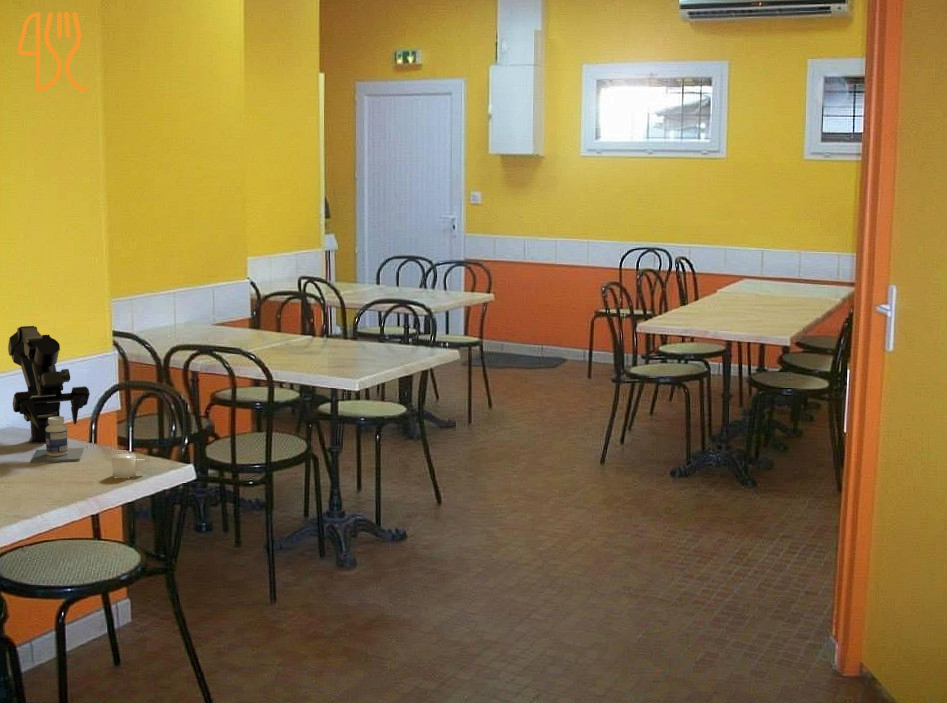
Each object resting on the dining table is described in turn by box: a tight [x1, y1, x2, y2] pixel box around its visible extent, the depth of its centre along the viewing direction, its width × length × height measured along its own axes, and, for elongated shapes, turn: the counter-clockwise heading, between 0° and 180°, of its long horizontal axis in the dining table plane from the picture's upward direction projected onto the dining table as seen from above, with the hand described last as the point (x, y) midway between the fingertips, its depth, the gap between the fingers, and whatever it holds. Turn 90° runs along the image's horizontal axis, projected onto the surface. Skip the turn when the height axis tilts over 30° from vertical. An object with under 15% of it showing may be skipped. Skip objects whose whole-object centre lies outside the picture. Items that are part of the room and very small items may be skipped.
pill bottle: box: [45, 415, 69, 456], centre depth 308 cm, size 5×5×10 cm
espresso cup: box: [111, 453, 146, 479], centre depth 291 cm, size 6×8×5 cm
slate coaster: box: [30, 447, 84, 464], centre depth 309 cm, size 12×12×1 cm
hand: (57, 425), depth 306 cm, fingers open, 9 cm apart
